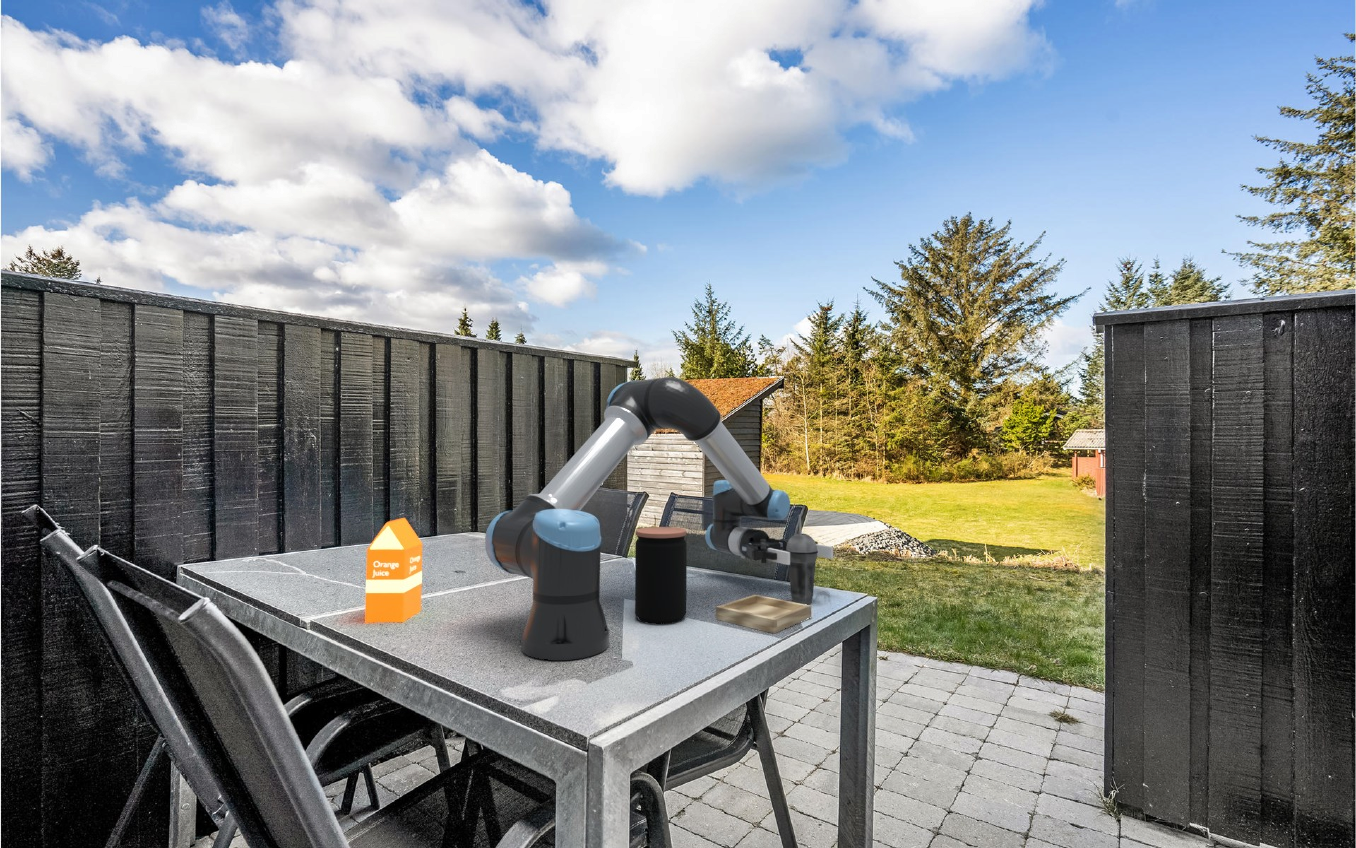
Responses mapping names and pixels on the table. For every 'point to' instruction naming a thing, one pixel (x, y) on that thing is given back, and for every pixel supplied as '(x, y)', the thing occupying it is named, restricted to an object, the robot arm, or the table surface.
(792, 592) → the beverage cup
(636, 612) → the coffee jar
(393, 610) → the orange juice
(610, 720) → the table surface
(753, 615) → the tray
